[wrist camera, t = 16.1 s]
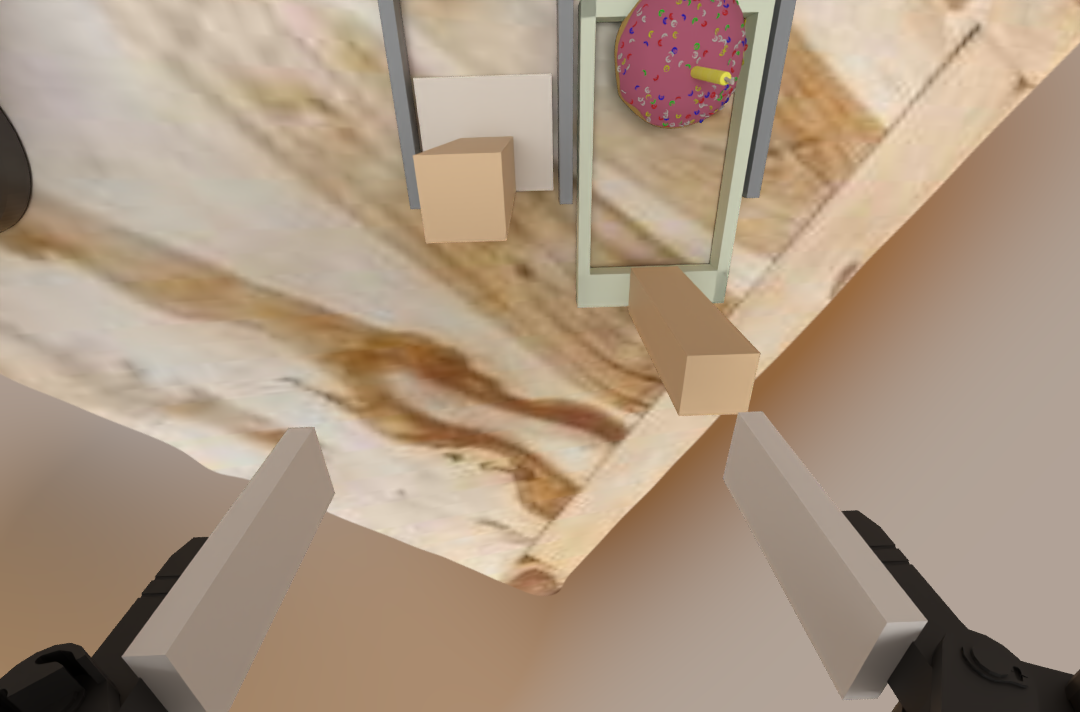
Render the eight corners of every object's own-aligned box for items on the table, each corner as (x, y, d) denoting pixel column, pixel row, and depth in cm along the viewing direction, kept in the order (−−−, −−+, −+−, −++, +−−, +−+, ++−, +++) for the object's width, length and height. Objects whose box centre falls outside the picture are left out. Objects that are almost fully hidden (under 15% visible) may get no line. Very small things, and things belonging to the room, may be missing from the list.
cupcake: (734, 88, 35) (823, 77, 24) (633, 149, 37) (674, 164, 26) (694, -38, 31) (778, -115, 21) (584, 37, 33) (609, 2, 23)
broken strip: (552, 187, 38) (567, 238, 23) (431, 191, 38) (365, 245, 23) (546, -199, 27) (566, -584, 12) (380, -194, 27) (193, -573, 12)
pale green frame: (714, 299, 43) (823, 411, 27) (575, 304, 43) (602, 418, 27) (763, -1, 32) (989, -112, 16) (578, 5, 32) (624, -100, 16)
